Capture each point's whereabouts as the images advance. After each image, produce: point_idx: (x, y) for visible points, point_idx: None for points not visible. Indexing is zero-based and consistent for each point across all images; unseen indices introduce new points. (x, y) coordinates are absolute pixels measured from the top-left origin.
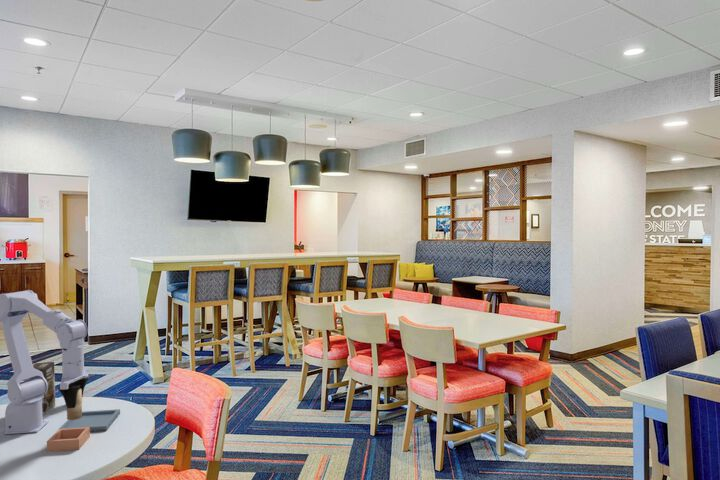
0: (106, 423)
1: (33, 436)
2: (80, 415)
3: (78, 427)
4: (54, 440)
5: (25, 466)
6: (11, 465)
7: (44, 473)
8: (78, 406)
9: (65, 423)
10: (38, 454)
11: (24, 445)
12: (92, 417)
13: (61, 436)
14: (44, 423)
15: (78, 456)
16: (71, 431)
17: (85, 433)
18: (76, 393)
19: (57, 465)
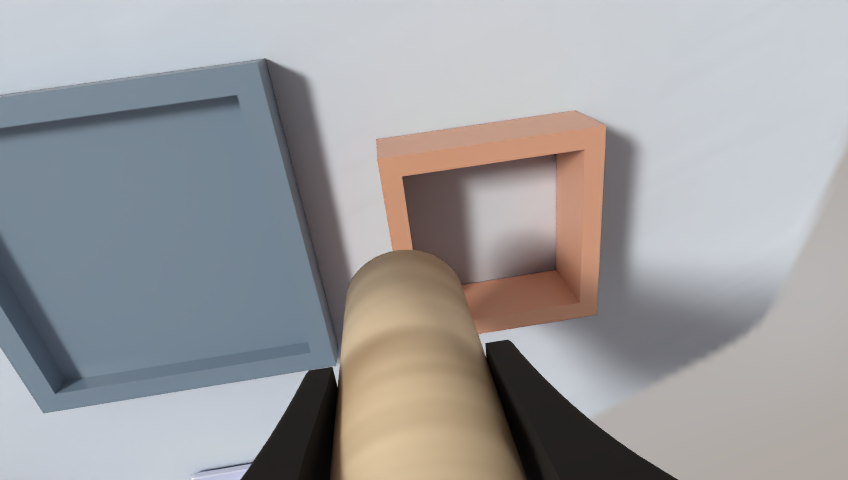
0: (203, 89)
1: None
2: (417, 261)
3: (301, 266)
4: (589, 280)
5: (720, 288)
6: (688, 351)
7: (842, 152)
8: (453, 323)
9: (245, 374)
10: None
11: None
12: (72, 277)
13: None
14: (226, 476)
15: (680, 60)
16: None
17: (468, 141)
18: (614, 461)
19: (767, 131)
